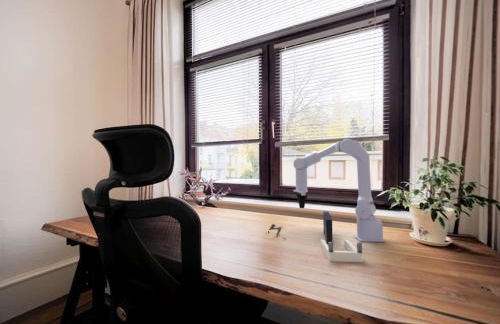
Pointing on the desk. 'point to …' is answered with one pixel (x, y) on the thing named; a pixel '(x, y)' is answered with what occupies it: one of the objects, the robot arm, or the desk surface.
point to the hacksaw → (275, 228)
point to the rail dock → (343, 252)
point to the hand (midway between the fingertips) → (301, 208)
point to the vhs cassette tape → (327, 227)
